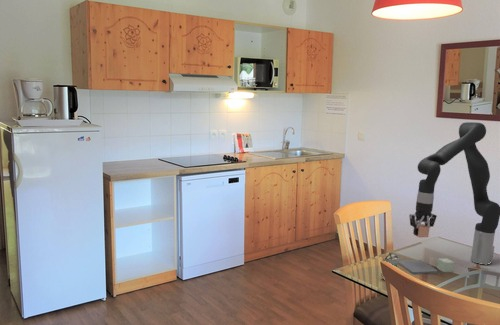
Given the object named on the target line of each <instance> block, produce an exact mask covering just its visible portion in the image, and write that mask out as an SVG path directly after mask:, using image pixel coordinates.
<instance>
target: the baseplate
mask: <svg viewBox="0 0 500 325" xmlns="http://www.w3.org/2000/svg"><path fill="white" fill-rule="evenodd" d="M399 261H400V262H399V263H398V265H399V266H401V267H402V268H403V269H404V270H406V271H407V272H409V273H410V274H412V275H420V274H421V275H422V274H438V273H439V269H436V268H435V267H433V266H432V265H430V264H428V263H426V262H425V261H423V260H422V259H412V260H410V259H409V260H407V259H406V260H399Z"/></svg>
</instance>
